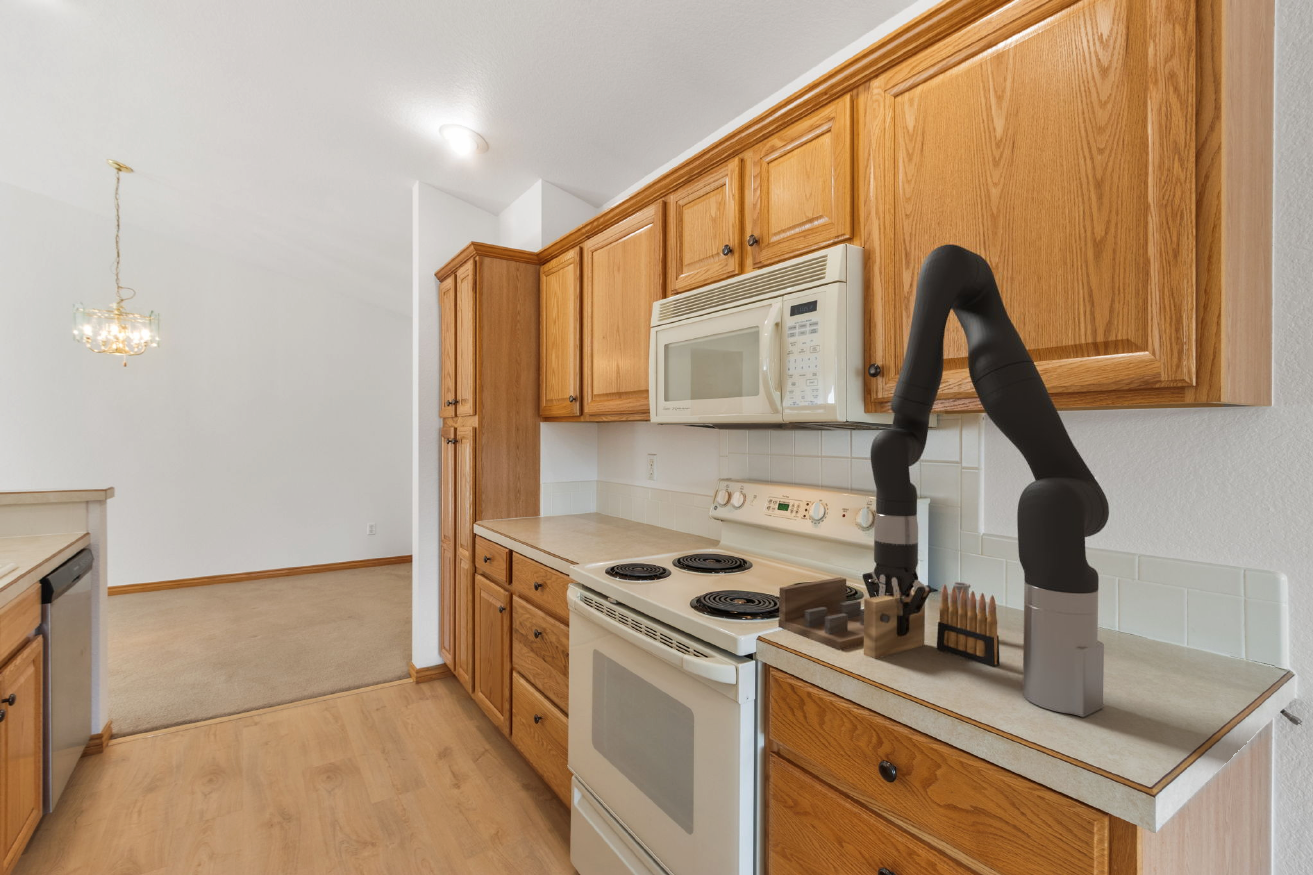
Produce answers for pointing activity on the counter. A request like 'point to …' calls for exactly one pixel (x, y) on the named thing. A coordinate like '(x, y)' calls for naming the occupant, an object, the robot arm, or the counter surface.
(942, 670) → the counter surface
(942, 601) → the ammunition clip
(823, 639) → the brown wooden base
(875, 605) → the door
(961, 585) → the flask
